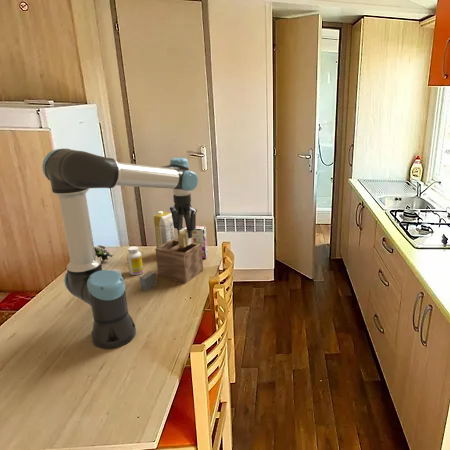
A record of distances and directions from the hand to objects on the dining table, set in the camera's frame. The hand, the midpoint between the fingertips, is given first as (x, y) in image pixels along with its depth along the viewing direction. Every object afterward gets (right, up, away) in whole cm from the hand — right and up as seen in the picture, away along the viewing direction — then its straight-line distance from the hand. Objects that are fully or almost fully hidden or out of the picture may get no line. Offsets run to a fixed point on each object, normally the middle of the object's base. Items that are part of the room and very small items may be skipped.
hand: (185, 243), depth 168 cm
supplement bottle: (-25, -15, +10) cm, 31 cm away
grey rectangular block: (-16, -19, -4) cm, 25 cm away
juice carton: (-13, -8, +28) cm, 32 cm away
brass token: (0, 0, 0) cm, 0 cm away
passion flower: (-47, -12, +21) cm, 53 cm away
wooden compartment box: (-3, -14, +7) cm, 17 cm away
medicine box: (-32, -20, -5) cm, 38 cm away
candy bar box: (+3, -8, +25) cm, 26 cm away
